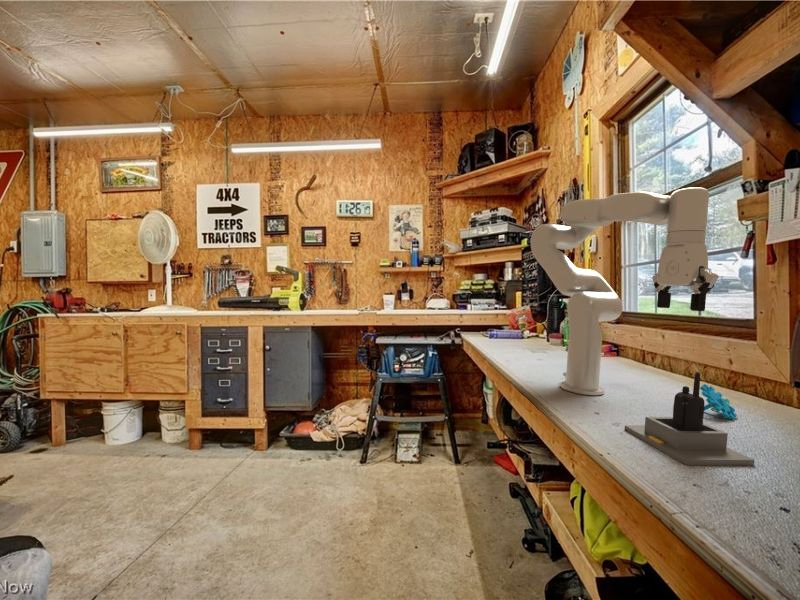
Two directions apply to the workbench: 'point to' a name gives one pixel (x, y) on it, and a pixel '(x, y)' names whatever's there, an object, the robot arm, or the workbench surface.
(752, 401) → the workbench surface
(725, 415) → the blue branched piece
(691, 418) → the two-way radio
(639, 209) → the robot arm
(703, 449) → the charging cradle
